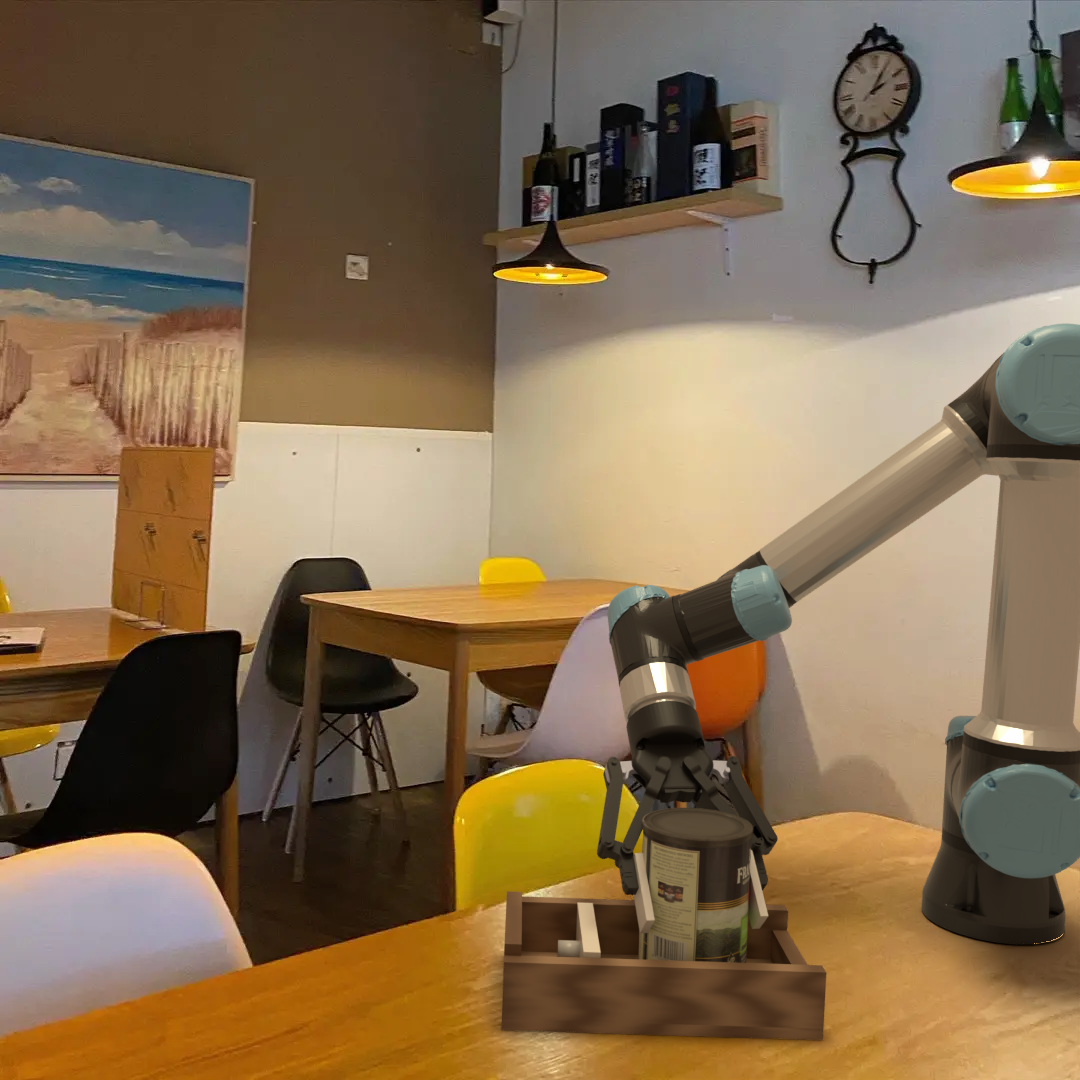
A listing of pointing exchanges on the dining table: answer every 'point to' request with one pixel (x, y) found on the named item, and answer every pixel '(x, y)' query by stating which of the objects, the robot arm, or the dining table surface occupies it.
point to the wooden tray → (652, 979)
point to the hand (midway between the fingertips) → (704, 924)
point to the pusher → (582, 936)
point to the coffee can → (697, 885)
